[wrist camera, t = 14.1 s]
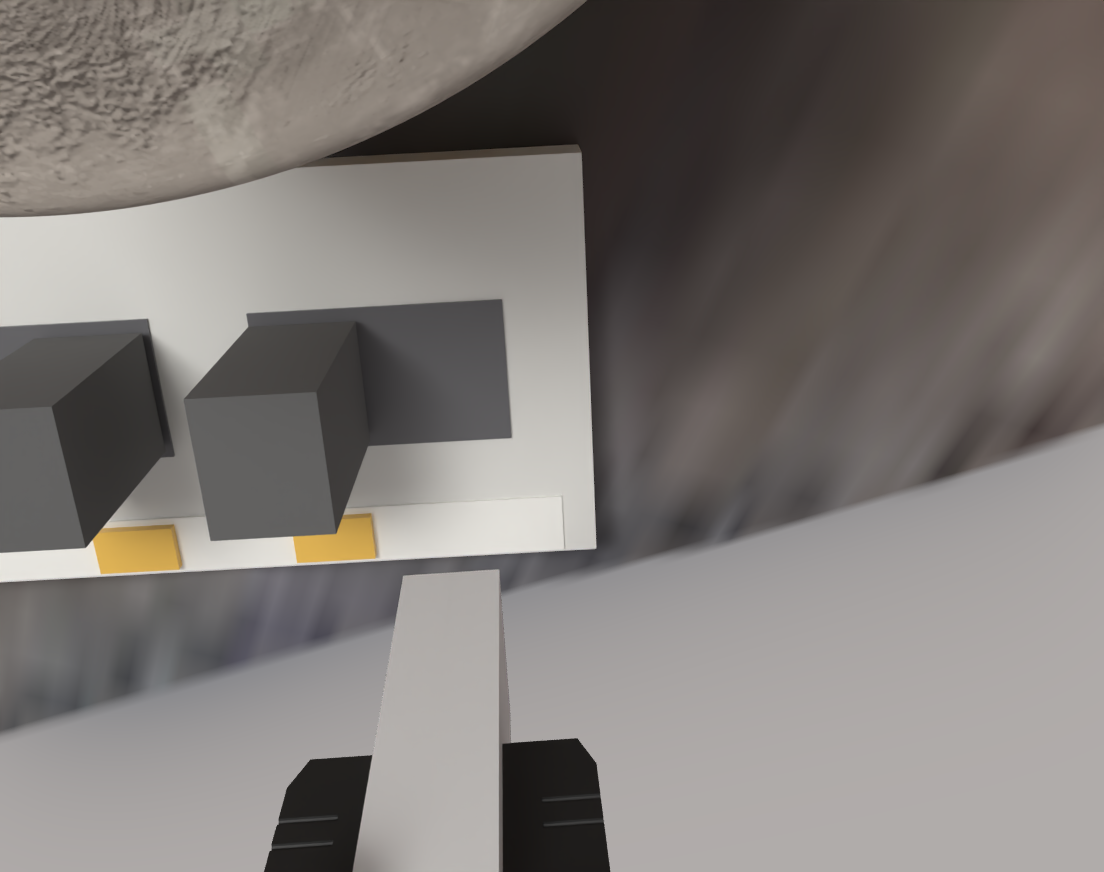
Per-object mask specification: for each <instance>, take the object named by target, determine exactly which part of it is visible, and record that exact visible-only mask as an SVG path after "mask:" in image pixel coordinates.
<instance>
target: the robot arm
mask: <svg viewBox="0 0 1104 872" xmlns="http://www.w3.org/2000/svg"><path fill="white" fill-rule="evenodd" d="M510 735H511V730H510V703H509V690H508V679H507V665H506V652H505V639H504V627H503V613H502V600H501V587H500V574H499V569H498V570H483V571H468V572H453V573H438V574H423V575H407V576H403V581H402V587H401V592H400V598H399V604H398V610H397V616H396V622H395V627H394V633H393V639H392V645H391V651H390V657H389V662H388V668H387V674H386V680H385V686H384V691H383V697H382V703H381V709H380V715H379V721H378V726H377V732H376V738H375V744H374V750H373V755H370V756H356V757H341V758H327V759H313V760H310V761H309V762H308V763H307V765H306V766H305V767H304V768H303V769H302V771H301V772H300V773H299V774H298V775H297V777H296V778H295V779H294V780H293V782H292V783H291V784H290V785H289V786H288V788H287V790H286V794H285V797H284V801H283V805H282V809H281V812H280V816H279V825H277V827H276V830H275V834H274V837H273V841H272V851H270V852H269V856H268V859H267V863H266V867H265V870H264V872H610V866H609V858H608V850H607V842H606V835H605V827H604V820H603V811H602V804H601V798H600V788H599V781H598V773H597V765H596V762H595V761H594V760H593V758H592V757H591V756H590V754H589V753H588V752H587V751H586V749H585V748H584V747H583V745H582V744H581V743H580V741H579V740H578V739H576V738H575V739H561V740H547V741H533V742H518V743H511V736H510Z"/></svg>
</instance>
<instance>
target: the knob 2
mask: <svg viewBox="0 0 1104 872" xmlns="http://www.w3.org/2000/svg"><path fill="white" fill-rule="evenodd" d="M165 452H166V451H165V446H164V441H163V436H162V431H161V426H160V421H159V417H158V412H157V407H156V402H155V397H154V392H153V387H152V382H151V377H150V372H149V367H148V362H147V357H146V352H145V347H144V342H143V338H142V333H129V334H111V335H93V336H74V337H56V338H38V339H33V340H31V341H30V342H28V343H27V344H25V345H24V346H22V347H20V348H19V349H17V350H16V351H14V352H13V353H11V354H10V355H8V356H7V357H5V358H4V359H2V360H0V553H9V552H27V551H45V550H62V549H80V548H86V547H87V546H88V545H89V544H90V542H91V541H92V540H93V539H94V538H95V536H96V535H97V534H98V533H99V532H100V530H101V529H102V528H103V527H104V526H105V524H106V523H107V522H108V521H109V519H110V518H111V517H112V516H113V515H114V513H115V512H116V511H117V510H118V509H119V507H120V506H121V505H122V504H123V503H124V501H125V500H126V499H127V498H128V497H129V495H130V494H131V493H132V492H133V490H134V489H135V488H136V487H137V486H138V484H139V483H140V482H141V481H142V480H143V478H144V477H145V476H146V475H147V474H148V472H149V471H150V470H151V469H152V467H153V466H154V465H155V464H156V463H157V461H158V460H159V459H160V458H161V457H162V455H163V454H164V453H165Z"/></svg>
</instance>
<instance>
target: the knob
mask: <svg viewBox="0 0 1104 872" xmlns="http://www.w3.org/2000/svg"><path fill="white" fill-rule="evenodd" d="M183 400H184V405H185V410H186V415H187V421H188V426H189V431H190V436H191V442H192V447H193V452H194V457H195V462H196V468H197V473H198V478H199V483H200V489H201V494H202V499H203V504H204V509H205V515H206V520H207V525H208V530H209V535H210V541H222V540H240V539H258V538H276V537H293V536H311V535H329V534H336V533H337V531H338V528H339V525H340V522H341V519H342V517H343V514H344V511H345V508H346V506H347V503H348V500H349V497H350V495H351V492H352V489H353V486H354V484H355V481H356V478H357V475H358V472H359V470H360V467H361V464H362V461H363V459H364V456H365V453H366V450H367V448H368V445H369V442H370V435H369V427H368V419H367V411H366V403H365V394H364V386H363V378H362V370H361V362H360V354H359V346H358V338H357V329H356V321H348V322H330V323H312V324H293V325H275V326H257V327H248V328H247V329H246V330H245V331H244V332H243V333H242V334H241V336H240V337H239V338H238V339H237V340H236V341H235V342H234V343H233V344H232V346H231V347H230V348H229V349H228V350H227V351H226V352H225V353H224V355H223V356H222V357H221V358H220V359H219V360H218V361H217V362H216V363H215V365H214V366H213V367H212V368H211V369H210V370H209V371H208V372H207V374H206V375H205V376H204V377H203V378H202V379H201V380H200V381H199V382H198V384H197V385H196V386H195V387H194V388H193V389H192V390H191V391H190V393H189V394H188V395H187V396H186V397H185V398H184V399H183Z"/></svg>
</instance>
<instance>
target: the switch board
mask: <svg viewBox="0 0 1104 872" xmlns="http://www.w3.org/2000/svg"><path fill="white" fill-rule="evenodd" d="M348 321H356V329H357V338H358V346H359V354H360V362H361V370H362V378H363V386H364V394H365V403H366V411H367V419H368V427H369V435H370V442H369V445H368V448H367V450H366V453H365V456H364V459H363V461H362V464H361V467H360V470H359V472H358V475H357V478H356V481H355V484H354V486H353V489H352V492H351V495H350V497H349V500H348V503H347V506H346V508H345V511H344V514H343V517H342V519H341V522H340V525H339V528H338V531H337V533H336V534H329V535H311V536H293V537H276V538H258V539H240V540H222V541H210V535H209V530H208V525H207V520H206V515H205V509H204V504H203V499H202V494H201V489H200V483H199V478H198V473H197V468H196V462H195V457H194V452H193V447H192V442H191V436H190V431H189V426H188V421H187V415H186V410H185V405H184V400H183V399H184V398H185V397H186V396H187V395H188V394H189V393H190V391H191V390H192V389H193V388H194V387H195V386H196V385H197V384H198V382H199V381H200V380H201V379H202V378H203V377H204V376H205V375H206V374H207V372H208V371H209V370H210V369H211V368H212V367H213V366H214V365H215V363H216V362H217V361H218V360H219V359H220V358H221V357H222V356H223V355H224V353H225V352H226V351H227V350H228V349H229V348H230V347H231V346H232V344H233V343H234V342H235V341H236V340H237V339H238V338H239V337H240V336H241V334H242V333H243V332H244V331H245V330H246V329H247V328H248V327H257V326H275V325H293V324H312V323H330V322H348ZM129 333H142V338H143V342H144V347H145V352H146V357H147V362H148V367H149V372H150V377H151V382H152V387H153V392H154V397H155V402H156V407H157V412H158V417H159V421H160V426H161V431H162V436H163V441H164V446H165V451H166V452H165V453H164V454H163V455H162V457H161V458H160V459H159V460H158V461H157V463H156V464H155V465H154V466H153V467H152V469H151V470H150V471H149V472H148V474H147V475H146V476H145V477H144V478H143V480H142V481H141V482H140V483H139V484H138V486H137V487H136V488H135V489H134V490H133V492H132V493H131V494H130V495H129V497H128V498H127V499H126V500H125V501H124V503H123V504H122V505H121V506H120V507H119V509H118V510H117V511H116V512H115V513H114V515H113V516H112V517H111V518H110V519H109V521H108V522H107V523H106V524H105V526H104V527H103V528H102V529H101V530H100V532H99V533H98V534H97V535H96V536H95V538H94V539H93V540H92V541H91V542H90V544H89V545H88V546H87V547H86V548H80V549H62V550H45V551H27V552H9V553H0V582H15V581H33V580H50V579H68V578H86V577H104V576H121V575H139V574H157V573H174V572H192V571H210V570H228V569H245V568H263V567H281V566H298V565H316V564H334V563H352V562H369V561H387V560H405V559H422V558H440V557H458V556H476V555H493V554H511V553H529V552H546V551H564V550H582V549H596V525H595V498H594V472H593V445H592V418H591V391H590V365H589V338H588V311H587V285H586V258H585V231H584V204H583V178H582V152H581V150H580V148H579V146H578V144H575V145H556V146H537V147H519V148H500V149H481V150H463V151H444V152H426V153H407V154H388V155H370V156H351V157H332V158H321V159H318V160H315V161H313V162H310V163H307V164H304V165H302V166H299V167H296V168H293V169H290V170H287V171H284V172H281V173H278V174H275V175H272V176H268V177H265V178H262V179H259V180H255V181H252V182H248V183H245V184H241V185H237V186H234V187H230V188H226V189H222V190H218V191H214V192H210V193H205V194H201V195H196V196H192V197H187V198H182V199H178V200H173V201H168V202H162V203H156V204H151V205H145V206H138V207H132V208H125V209H118V210H110V211H101V212H92V213H82V214H70V215H56V216H38V217H0V360H2V359H4V358H5V357H7V356H8V355H10V354H11V353H13V352H14V351H16V350H17V349H19V348H20V347H22V346H24V345H25V344H27V343H28V342H30V341H31V340H33V339H38V338H56V337H74V336H93V335H111V334H129Z"/></svg>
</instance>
